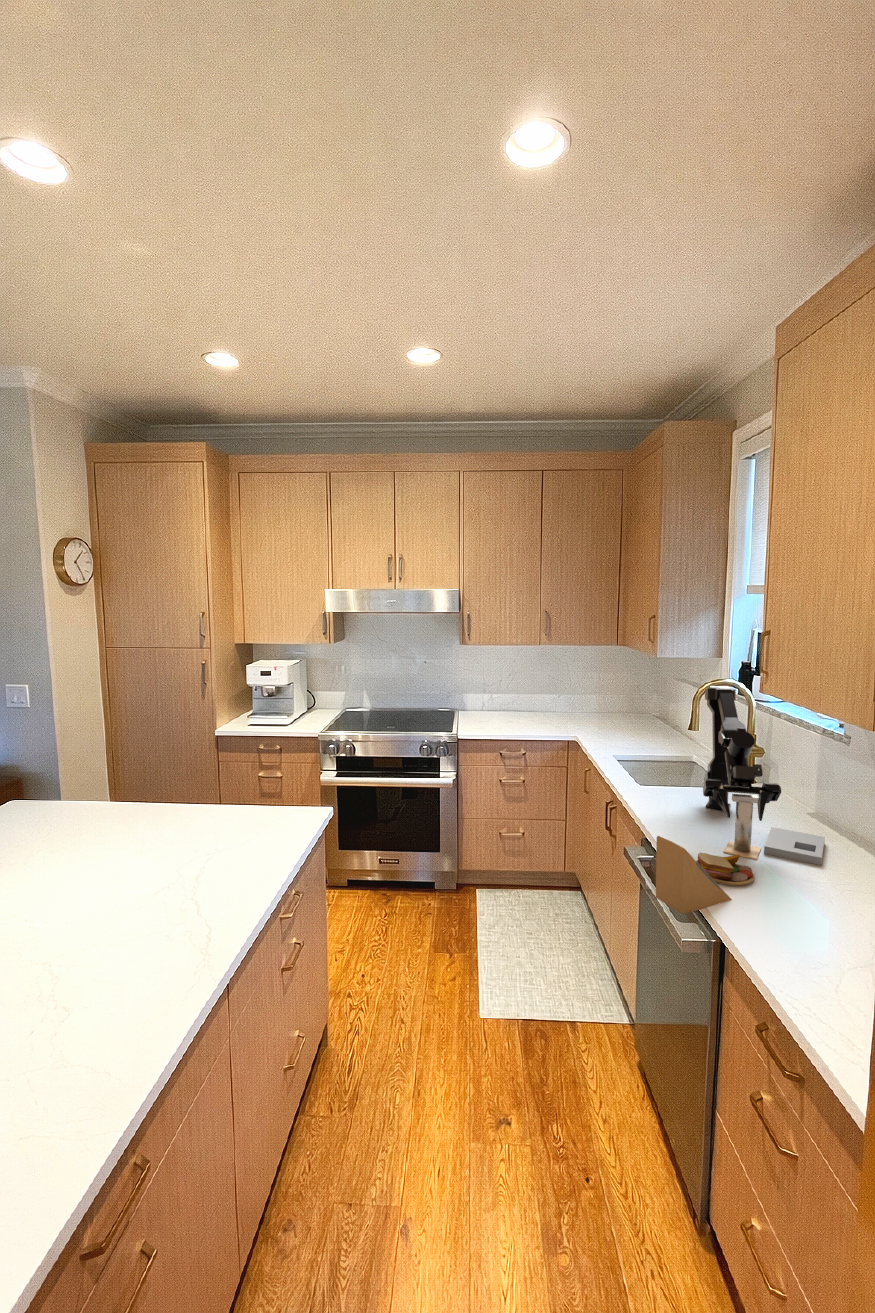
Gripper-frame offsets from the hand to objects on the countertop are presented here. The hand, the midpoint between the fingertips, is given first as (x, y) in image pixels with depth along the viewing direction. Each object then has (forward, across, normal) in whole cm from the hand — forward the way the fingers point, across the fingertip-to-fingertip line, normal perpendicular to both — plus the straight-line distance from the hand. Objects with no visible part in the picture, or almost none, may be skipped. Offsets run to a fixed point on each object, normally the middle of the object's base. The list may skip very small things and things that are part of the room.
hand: (745, 819), depth 162 cm
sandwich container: (+27, -16, -14) cm, 35 cm away
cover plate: (+2, +14, +11) cm, 18 cm away
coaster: (+6, 0, +8) cm, 10 cm away
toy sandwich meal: (+18, -8, -4) cm, 20 cm away
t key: (+5, 0, +7) cm, 9 cm away
